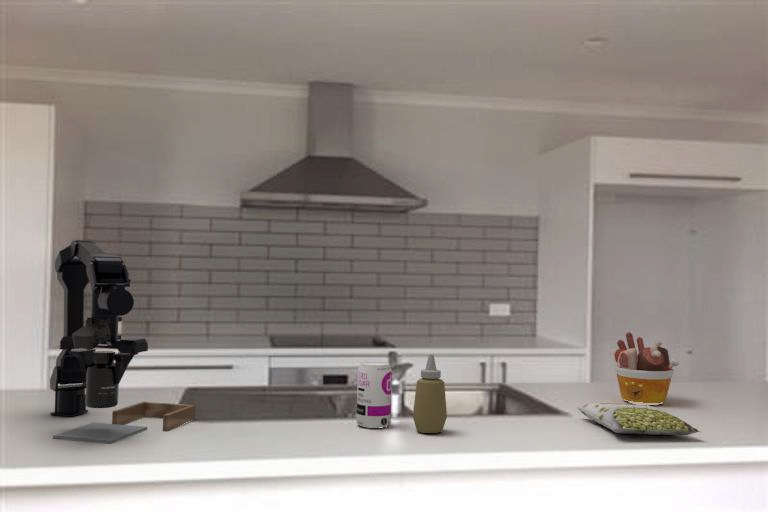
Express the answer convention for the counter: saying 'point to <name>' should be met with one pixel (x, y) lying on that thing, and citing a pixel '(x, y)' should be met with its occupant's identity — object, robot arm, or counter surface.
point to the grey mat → (100, 432)
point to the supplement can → (374, 394)
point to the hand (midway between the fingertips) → (102, 383)
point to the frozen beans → (636, 419)
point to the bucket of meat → (643, 371)
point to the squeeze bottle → (430, 400)
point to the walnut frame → (156, 413)
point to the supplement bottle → (101, 381)
